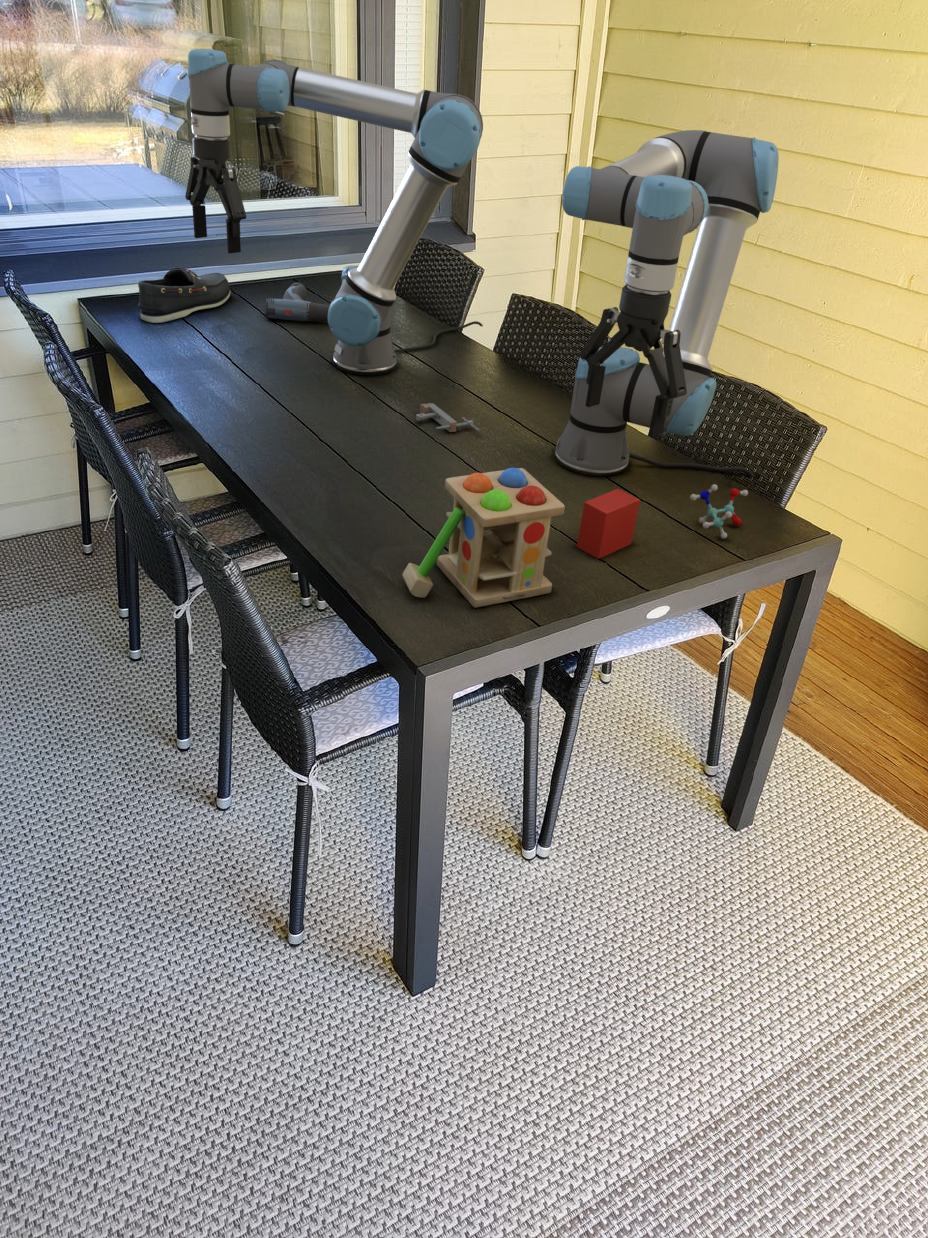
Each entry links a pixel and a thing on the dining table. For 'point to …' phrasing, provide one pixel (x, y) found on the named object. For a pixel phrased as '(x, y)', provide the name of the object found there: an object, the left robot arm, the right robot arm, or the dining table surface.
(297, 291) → the power drill
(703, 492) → the molecular model
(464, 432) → the dining table surface
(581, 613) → the dining table surface
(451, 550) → the pounding bench toy
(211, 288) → the boat shoe
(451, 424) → the clamp
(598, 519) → the block
